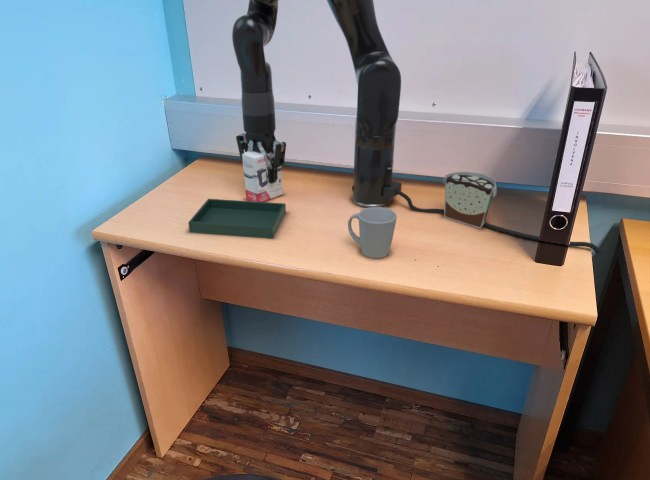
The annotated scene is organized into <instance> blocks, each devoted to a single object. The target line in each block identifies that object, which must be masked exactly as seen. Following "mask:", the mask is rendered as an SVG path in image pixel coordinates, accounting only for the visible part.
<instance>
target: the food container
mask: <svg viewBox="0 0 650 480" xmlns="http://www.w3.org/2000/svg"><path fill="white" fill-rule="evenodd" d="M442 184H444V203H443V204H444V205H443V206H444V207H443V208H444V214H443V218H444V219H448V220H451V221H454V222H458V223H460V224H463V225H467V226H469V227H473V228H476V229H480V230H482V229H484V226H483V225H484V223H485V222H486V220H487V215H488V212H489V209H490V206H491V203H492V199H493V198H495V197H496V196H497V193H498V191H497V183H496V180H495V179H493V178H492V177H491V176H489V175H486V174H483V173H479V172H473V171H455V172H450V173H447V174H445V176H444V177H443V181H442Z"/></svg>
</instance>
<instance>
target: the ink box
mask: <svg viewBox="0 0 650 480" xmlns="http://www.w3.org/2000/svg"><path fill="white" fill-rule="evenodd" d="M274 149H275V147H274ZM272 154H273V152H270V153H268V154H267V155H268V156H269V155H272ZM242 159H243V160H242ZM242 159H241V160H242V166H243V167H242V168H243V178H244V188H245V189H244V190H245V198H246V199H245V200H247V201H253V202H266V201H269V200H271V199H274V198H277V197H279V196H281V195H283V194H284V191H283V190H284V189H283V174H282V173H283V172H282V170H283V169H282V166H280V167H278V168H277V175H278V179H277V180H276V182H274V183H273V184H271V183H269V177H268V169H269V168H268V165H267V162H266V161H265V160H264V156H263V155H262V154H261V153H258V152H254V151H253V152H250V151H248V152H245V151H244V154H242ZM271 162H272V158H271Z"/></svg>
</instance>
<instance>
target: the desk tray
mask: <svg viewBox="0 0 650 480" xmlns="http://www.w3.org/2000/svg"><path fill="white" fill-rule="evenodd" d="M286 206H287V204H286V203H285V202H266V201H264V202H253V201H250V200H237V199H236V200H235V199H217V198H207V199H206V201H205V202H204V203H203V204H202V206H201V207H200V208H199V209H198V210H197V211H196V212H195V214H194V215H193V216H192V217H191V218H190V220H189V221H188V228H189V233H191V234H195V233H196V234H209V235H221V236H234V237H235V236H236V237H247V238H249V237H250V238H262V239H274V237H275V235H276V233H277V231H278V230H279V227H280V225H281V224H282V222H283V220H284V218H285V216H286V214H287V209H286V208H287V207H286Z"/></svg>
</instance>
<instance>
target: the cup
mask: <svg viewBox="0 0 650 480" xmlns="http://www.w3.org/2000/svg"><path fill="white" fill-rule="evenodd" d="M353 219H357V220H358V230H359V236H358V235H357V234H356V233H355V232H354V230H353V228H352V222H353ZM397 219H398V214H397V213H396V212H395V211H394V210H393V209H390V208H387V207H384V206H382V207H365V208H364V209H361V210H360V211H359V212H357V213H354V214H352V215H351V216H350V217H349V219H348V221H347V231H348V233H349V236H350V237H351V239H352V240H353V241H354V242H356V243H357V244H358V245H360V249H361V253H362V255H363V256H365V257H367V258H370V259H383V258H385V257H387V256H389V254H390V251H391V247H392V242H393V238H394V235H395V234H394V233H395V228H396V224H397Z"/></svg>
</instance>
